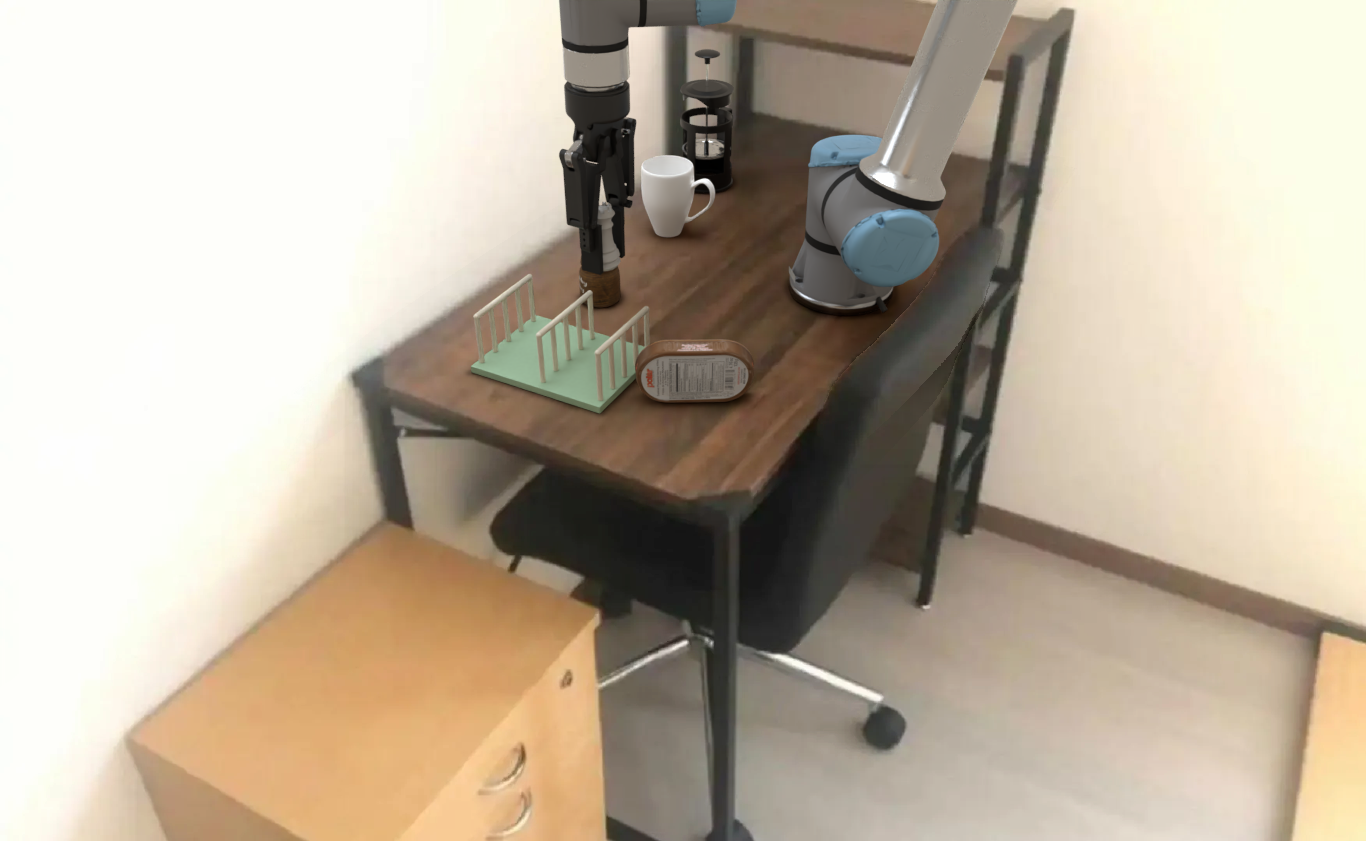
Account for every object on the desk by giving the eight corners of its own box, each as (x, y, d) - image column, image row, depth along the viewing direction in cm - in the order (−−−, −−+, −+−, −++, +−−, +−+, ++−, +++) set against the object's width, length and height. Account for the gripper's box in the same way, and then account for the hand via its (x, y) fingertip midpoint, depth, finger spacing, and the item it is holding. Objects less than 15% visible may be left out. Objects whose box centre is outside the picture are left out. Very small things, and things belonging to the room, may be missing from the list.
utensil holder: (621, 288, 167) (618, 214, 160) (619, 310, 162) (616, 234, 155) (582, 288, 167) (577, 214, 160) (578, 310, 162) (573, 234, 155)
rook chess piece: (581, 258, 143) (578, 201, 138) (614, 253, 144) (613, 196, 140) (591, 274, 140) (588, 216, 135) (625, 269, 141) (624, 211, 136)
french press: (709, 200, 191) (711, 66, 178) (666, 186, 196) (664, 54, 182) (748, 177, 199) (753, 47, 185) (705, 164, 203) (707, 36, 190)
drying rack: (658, 356, 152) (657, 302, 147) (599, 413, 141) (596, 357, 136) (535, 320, 159) (530, 268, 154) (471, 372, 149) (463, 317, 144)
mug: (634, 238, 180) (632, 171, 173) (653, 216, 186) (652, 151, 179) (704, 250, 176) (705, 183, 170) (722, 228, 183) (723, 162, 176)
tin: (752, 390, 145) (754, 335, 140) (754, 404, 143) (756, 348, 138) (635, 393, 145) (634, 337, 140) (635, 407, 142) (634, 351, 137)
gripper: (609, 54, 136) (615, 229, 150) (525, 98, 123) (539, 285, 137) (663, 64, 133) (663, 241, 147) (582, 111, 121) (591, 300, 134)
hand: (603, 262), depth 142 cm, fingers closed on rook chess piece, 4 cm apart
